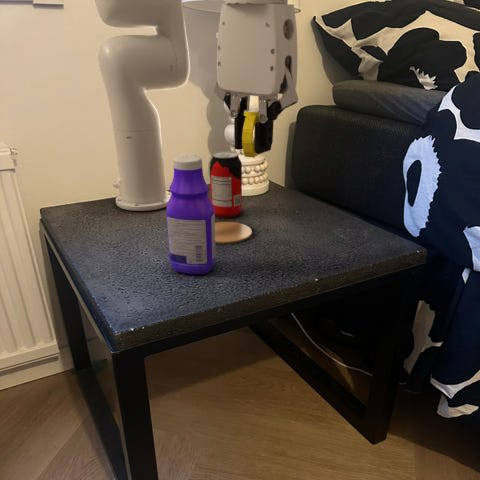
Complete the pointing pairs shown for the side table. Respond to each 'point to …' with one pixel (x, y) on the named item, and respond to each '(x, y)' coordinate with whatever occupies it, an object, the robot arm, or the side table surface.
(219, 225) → the coaster
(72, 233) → the side table surface
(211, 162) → the beverage can
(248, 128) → the watch
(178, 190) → the bottle
